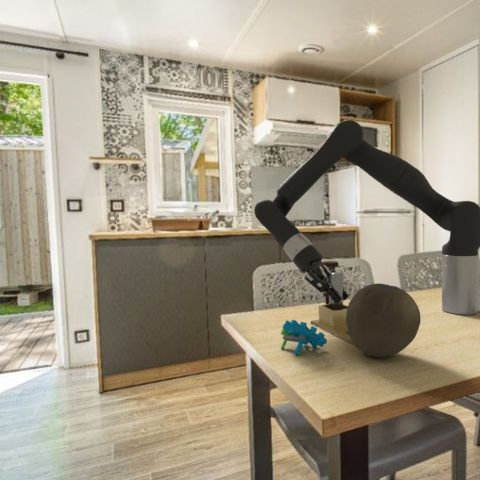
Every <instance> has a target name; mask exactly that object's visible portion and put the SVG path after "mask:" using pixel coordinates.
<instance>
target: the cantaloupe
mask: <svg viewBox="0 0 480 480" xmlns="http://www.w3.org/2000/svg"><path fill="white" fill-rule="evenodd" d="M347 306H348V307H347V312H346V325H347V329H348V333H349V337H350V339H351V341H352V343H353V344H352V345H354V347H356V348H357V350H360V351H361V352H363V353H364V354H365V355H367V356H370V357H372V358H377V359H379V358H380V359H381V358H387V357H391V356H392V357H393V356H395V355H396V354H399V353H400V352H402V351H404V350H405V349H406V348H407V347H408V346H409V345H410V344H411V343H412V342H413V341H414V340H415V338H416V336H417V334H418V331H419V328H420V325H421V311H420V309H419V306H418V305H417V303H416V301H415V300H414V298H413V297H412V296H411V294H409V293H408V292H406V291H405V290H404V289H402V288H401V287H398V286H395V285H390V284H385V283H379V282H378V283H371V284H369V285H366V286H363V287H362V288H359V290H358V291H357V292H355V294H354V295H353V296H352V298H350V301H349V302H348V304H347Z"/></svg>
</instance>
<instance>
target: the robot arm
mask: <svg viewBox="0 0 480 480" xmlns="http://www.w3.org/2000/svg"><path fill="white" fill-rule="evenodd" d="M342 159H344V160H346V161H348V162H349V163H350V164H353V165H355V166H356V167H359V168H360V169H361V170H362V171H364V172H365V173H366V174H367V175H368V176H370V177H371V178H372V179H374V180H375V181H376V182H378V183H379V184H380V185H382V186H383V187H384V188H386V189H387V190H389V191H390V192H392V193H393V194H394V195H396V196H398V197H400V198H401V199H403V200H404V201H406V202H407V203H409V204H410V205H412V206H414V207H415V208H417V209H418V210H420V211H421V212H422V213H424V214H425V215H426V216H428V218H429V219H431V220H432V221H433V222H434V223H436V224H437V226H438V227H440V228H441V229H443V230H445V231H447V232H449V233H450V234H449V239H448V241H447V242H446V243H445V244H443V245H442V248H441V253H442V254H441V310H442V311H443V312H446V313H449V314H450V313H451V314H455V315H464V316H465V315H476V314H478V313H479V312H480V280H479V250H480V205H479V204H478V203H476V202H474V201H472V200H471V201H470V200H461V201H453V200H451V199H449V198H448V197H445V196H444V195H442V194H440V193H439V192H437V190H435V189H434V188H433V187H432V185H431V184H430V182H429V181H428V179H427V178H426V175H424V174H423V172H421V171H420V170H419V169H418V168H417V167H415V166H414V165H413V164H411V163H410V162H408V161H406V160H405V159H403V158H401V157H399V156H397V155H394V154H392V153H389V152H386V151H384V150H382V149H379V148H377V147H375V146H374V145H371V144H370V143H369V142H367V141H366V140H365V139H364V129H363V127H362V126H361V124H360V123H358V121H355V120H352V119H347V120H342V121H339V122H337V123H336V124H335V125H334V126H332V127H331V129H329V131H328V132H327V134H326V140H324V143H323V144H322V145H321V146H320V147H319V149H317V150H316V152H315V153H314V154H313V155H312V156H311V157H310V158H308V159H307V160H306V161H305V162H304V163H302V165H300V166H299V167H298V168H297V169H296V170H295V171H293V172H292V173H291V174H290V175H289V176H288V178H286V179H285V180H284V181H283V182H282V183H281V184H280V185H279V186H278V188H277V190H276V196H275V198H274V199H273V200H270V199H261V200H259V201H257V203H256V204H255V206H254V210H253V211H254V215H255V218H256V219H257V220H258V222H259V223H260V224H261V225H262V226H263V227H264V228H265V229H266V231H268V232H269V233H270V234H271V236H273V238H274V239H275V240H276V242H277V244H278V245H280V247H281V248H282V249H283V250H284V252H285V254H286V255H287V257H288V258H289V259H290V260H291V262H292V263H293V264H294V265H295V266H296V267H297V269H298V270H299V271H300V272H301V273H302V274H303V273H307V275H306V276H304V280H305V281H306V282H308V283H309V284H310V285H311V286H312V287H313V288H315V289H316V290H317V291H318V292H320V293H322V294H323V292H324V293H327V294H328V295H329V296H330V297H331V299H332V300H333V301H334V302H335V303H336V304H337V303H339V302H340V301H341V300H342V297H341V296H340V295H339V293H338V292H337V291H336V290H335V289H334V288H333V287H332V285H331V284H330V282H329V273H330V272H337V271H336V268H335V269H334V268H333V267H332V266H331V267H330V268H328V267H326V266H325V265H324V264H323V263H322V262H323V260H322V259H323V254H322V253H321V252H320V251H319V250H318V248H316V246H314V244H313V243H312V242H311V241H310V240H309V239H308V237H306V236H305V235H304V234H303V233H302V232H301V231H300V230H299V229H298V228H297V227H296V225H295V224H294V223H293V222H291V221H290V220H289V219H288V218H287V215H288V214H289V213H290V212H291V210H292V209H293V206H294V205H295V204H296V203H297V202H298V201H299V200H300V199H301V198H303V196H304V195H305V194H306V193H307V192H308V191H309V190H310V189H311V188H312V187H313V186H314V185H315V184H316V183H317V182H318V181H319V180H320V179H321V178H322V177H323V176H324V174H326V172H328V171H329V170H330V169H331V168H332V167H333V166H334V165H335V164H336V163H338V162H339V161H340V160H342ZM349 296H350V295H349V293H348V292H347V291H346V290H345V289H344V288H343V302H344V301H345V300H347V299H348V298H349Z"/></svg>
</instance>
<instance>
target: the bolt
mask: <svg viewBox="0 0 480 480" xmlns="http://www.w3.org/2000/svg"><path fill="white" fill-rule="evenodd" d="M321 262H322V263H323V264H324V265H325V266H326V267H328V268H330V267H331V266H332V267H333V268H334V269H335V270H336V268H339V262H338V261H336V260H322V261H321ZM322 295H323V297H324V298H325V301H324V302H325V305H326V304H329V295H328V294H327V293H324V292H322Z"/></svg>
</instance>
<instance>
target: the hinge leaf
mask: <svg viewBox="0 0 480 480" xmlns="http://www.w3.org/2000/svg"><path fill="white" fill-rule="evenodd" d="M347 307H348V304H347V305H346V304H344V303H343V309H340V310H332V309H329V304H326V303H325V304H319V305H318V319H315V320H310V324H311V325H313V326H314V327H316V328H319V329H322V330H323V331H325V332H327V333H330V334H331V335H333V336H335V337H337V338H340V339H342V340H343V341H345V342H348V343H349V344H351V345H354V344H353V343H352V341H351V339H350V337H349V333H348V329H347V325H346V312H347Z"/></svg>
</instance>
